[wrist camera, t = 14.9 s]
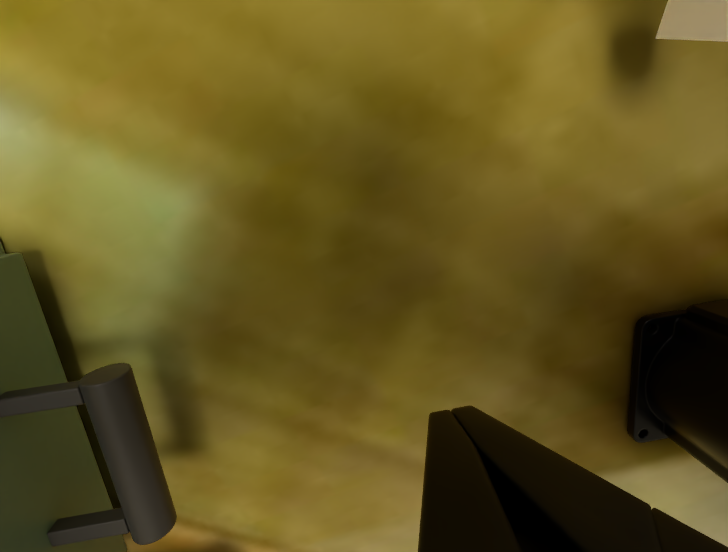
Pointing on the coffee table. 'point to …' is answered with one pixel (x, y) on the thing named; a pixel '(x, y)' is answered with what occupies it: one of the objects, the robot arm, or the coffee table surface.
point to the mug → (695, 20)
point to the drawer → (69, 442)
